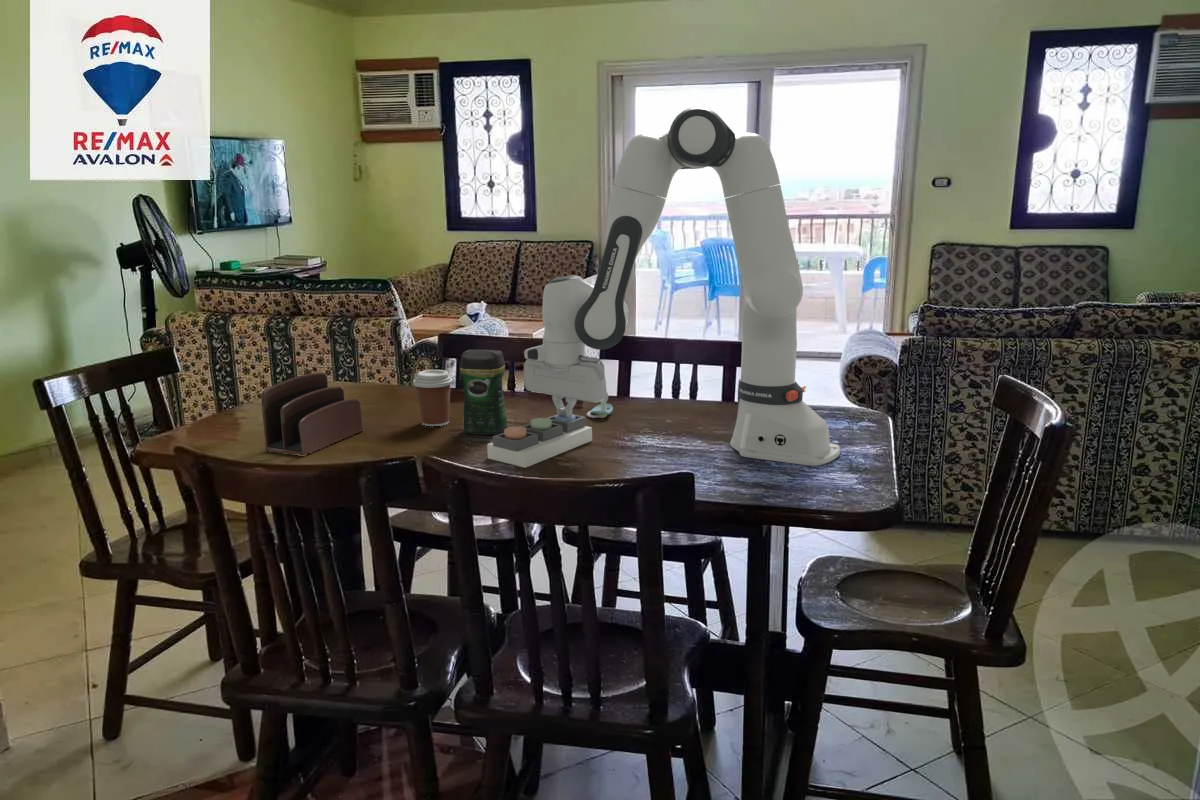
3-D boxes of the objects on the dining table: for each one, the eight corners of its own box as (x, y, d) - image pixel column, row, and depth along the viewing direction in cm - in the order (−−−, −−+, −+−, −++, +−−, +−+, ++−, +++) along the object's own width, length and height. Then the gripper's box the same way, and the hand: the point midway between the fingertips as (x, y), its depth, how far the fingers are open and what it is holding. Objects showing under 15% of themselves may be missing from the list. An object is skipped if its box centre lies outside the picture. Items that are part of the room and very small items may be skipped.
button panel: (592, 440, 182) (592, 418, 180) (524, 467, 164) (523, 443, 163) (556, 432, 187) (556, 411, 186) (487, 458, 170) (486, 434, 169)
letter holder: (265, 452, 175) (258, 386, 171) (328, 427, 193) (323, 367, 189) (303, 458, 171) (297, 390, 168) (364, 432, 189) (359, 371, 185)
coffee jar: (511, 427, 192) (508, 347, 187) (500, 437, 184) (497, 354, 180) (470, 425, 194) (467, 346, 189) (458, 434, 186) (454, 352, 182)
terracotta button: (531, 436, 169) (530, 428, 168) (516, 441, 165) (516, 433, 165) (514, 432, 171) (514, 425, 171) (499, 437, 168) (499, 430, 168)
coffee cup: (412, 428, 191) (408, 377, 188) (419, 418, 200) (416, 368, 197) (452, 428, 191) (449, 377, 188) (457, 417, 200) (455, 368, 197)
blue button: (579, 422, 182) (579, 415, 181) (566, 427, 178) (566, 420, 178) (563, 419, 184) (563, 412, 184) (550, 424, 181) (550, 416, 180)
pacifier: (583, 420, 199) (608, 420, 198) (582, 394, 197) (607, 394, 196) (590, 412, 206) (614, 412, 205) (589, 387, 204) (613, 387, 203)
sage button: (556, 427, 175) (555, 420, 175) (542, 432, 172) (542, 424, 171) (539, 424, 178) (539, 416, 177) (526, 428, 174) (526, 421, 174)
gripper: (612, 356, 174) (612, 420, 177) (537, 345, 186) (538, 406, 189) (594, 361, 169) (594, 427, 172) (518, 350, 181) (519, 412, 184)
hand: (564, 416), depth 181 cm, fingers closed, pressing on blue button
